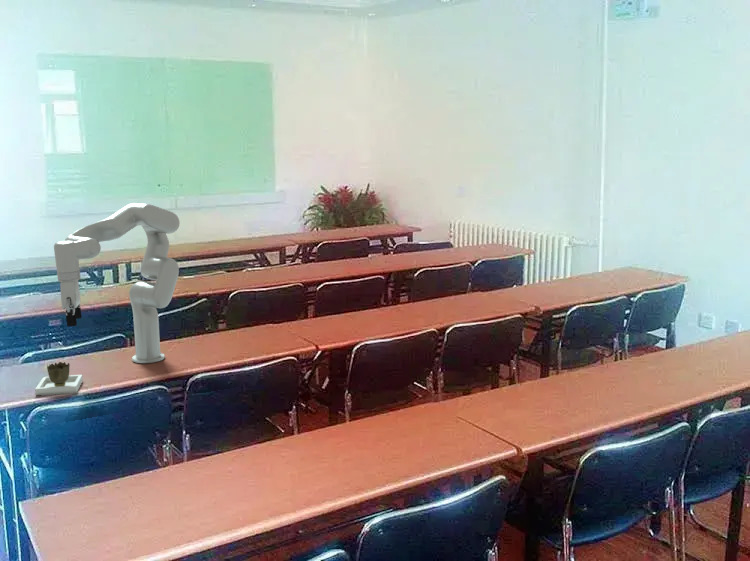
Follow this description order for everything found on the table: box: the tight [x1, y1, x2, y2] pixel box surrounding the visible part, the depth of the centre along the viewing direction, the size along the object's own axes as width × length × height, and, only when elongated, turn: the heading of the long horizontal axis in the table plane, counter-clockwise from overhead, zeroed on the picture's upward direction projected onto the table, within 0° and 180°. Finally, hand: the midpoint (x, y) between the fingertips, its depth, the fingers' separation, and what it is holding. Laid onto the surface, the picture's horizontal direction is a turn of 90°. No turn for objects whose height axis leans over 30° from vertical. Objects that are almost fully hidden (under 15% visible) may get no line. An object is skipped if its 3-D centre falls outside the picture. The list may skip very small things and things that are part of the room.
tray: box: [34, 374, 84, 396], centre depth 269 cm, size 13×13×2 cm
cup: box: [46, 361, 71, 387], centre depth 268 cm, size 8×7×8 cm
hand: (74, 322), depth 272 cm, fingers open, 9 cm apart
